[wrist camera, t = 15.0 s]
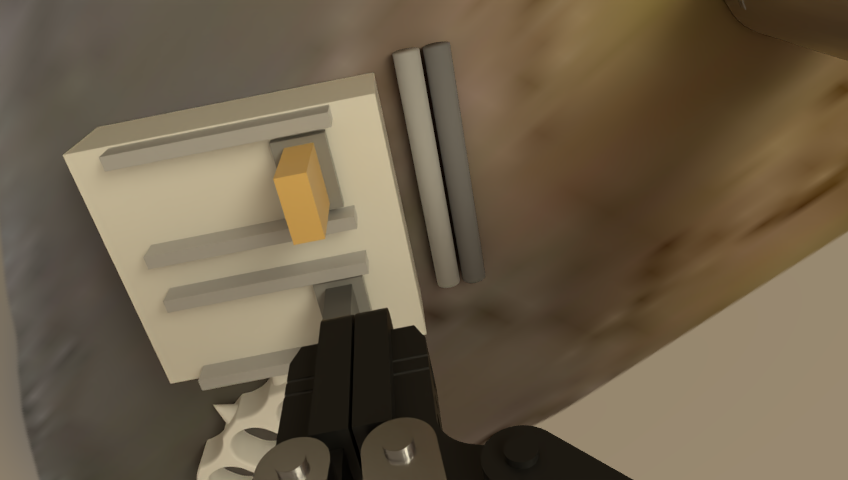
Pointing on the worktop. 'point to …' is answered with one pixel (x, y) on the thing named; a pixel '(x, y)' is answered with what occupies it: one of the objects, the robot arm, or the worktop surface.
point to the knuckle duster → (243, 432)
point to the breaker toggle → (306, 183)
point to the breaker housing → (245, 226)
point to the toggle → (342, 297)
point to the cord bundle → (452, 158)
